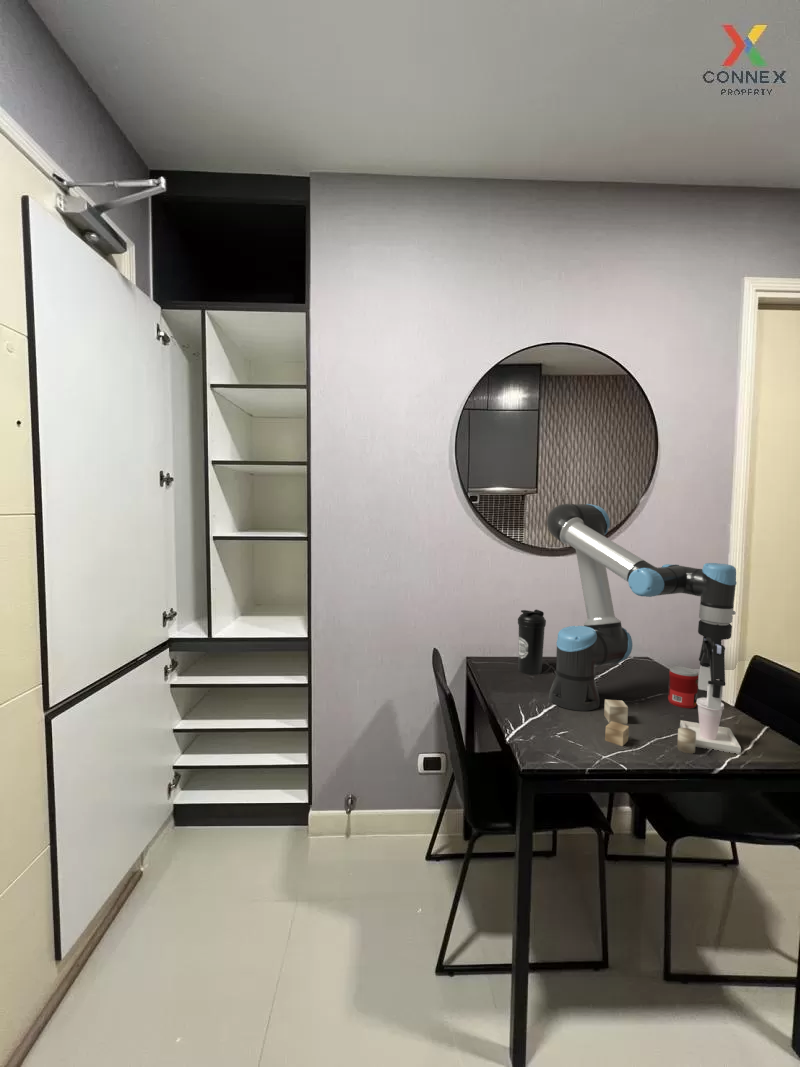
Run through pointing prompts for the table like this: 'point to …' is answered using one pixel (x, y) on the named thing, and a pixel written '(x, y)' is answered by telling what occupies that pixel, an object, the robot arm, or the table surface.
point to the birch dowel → (686, 740)
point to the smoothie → (708, 718)
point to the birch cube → (616, 711)
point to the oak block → (616, 733)
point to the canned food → (683, 687)
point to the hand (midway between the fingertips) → (708, 698)
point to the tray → (722, 742)
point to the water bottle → (531, 641)
